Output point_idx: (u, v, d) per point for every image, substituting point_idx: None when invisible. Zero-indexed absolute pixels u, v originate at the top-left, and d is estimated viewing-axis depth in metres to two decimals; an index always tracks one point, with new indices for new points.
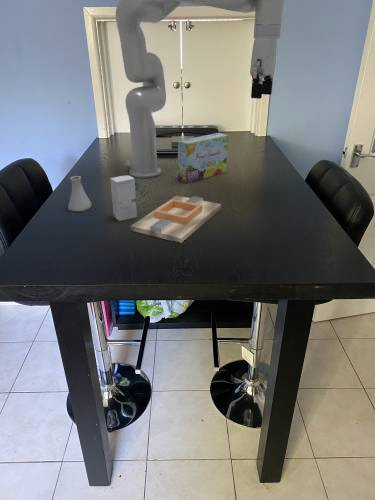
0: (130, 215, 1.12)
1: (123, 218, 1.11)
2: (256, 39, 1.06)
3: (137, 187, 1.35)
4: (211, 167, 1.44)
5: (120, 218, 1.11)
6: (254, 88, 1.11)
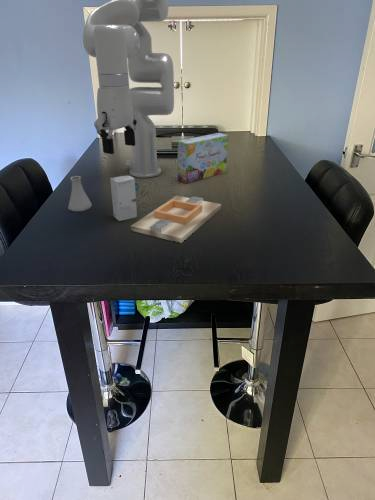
0: (130, 215, 1.12)
1: (123, 218, 1.11)
2: (98, 90, 0.94)
3: (137, 187, 1.35)
4: (211, 167, 1.44)
5: (120, 218, 1.11)
6: (103, 143, 0.98)
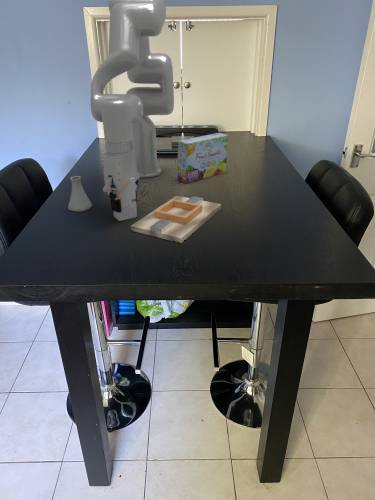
0: (130, 215, 1.12)
1: (123, 218, 1.11)
2: (105, 156, 1.02)
3: (137, 187, 1.35)
4: (211, 167, 1.44)
5: (120, 218, 1.11)
6: (112, 203, 1.07)
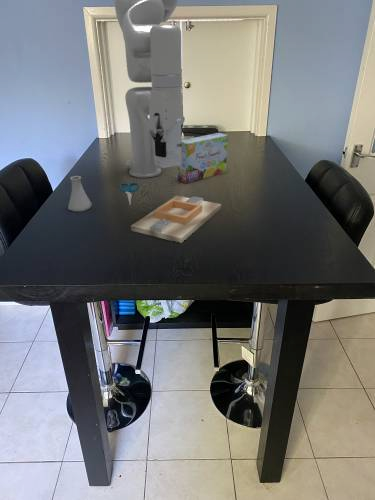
0: (174, 162, 1.03)
1: (167, 165, 1.02)
2: (152, 91, 0.93)
3: (137, 187, 1.35)
4: (211, 167, 1.44)
5: (164, 164, 1.01)
6: (157, 146, 0.98)
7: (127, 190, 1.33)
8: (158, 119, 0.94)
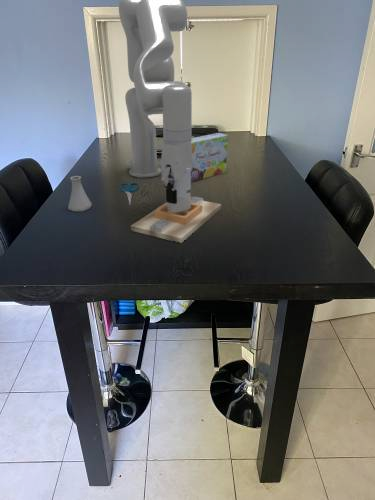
0: (184, 207, 1.09)
1: (178, 209, 1.08)
2: (164, 145, 0.99)
3: (137, 187, 1.35)
4: (211, 167, 1.44)
5: (175, 209, 1.08)
6: (168, 194, 1.04)
7: (127, 190, 1.33)
8: (170, 170, 1.00)
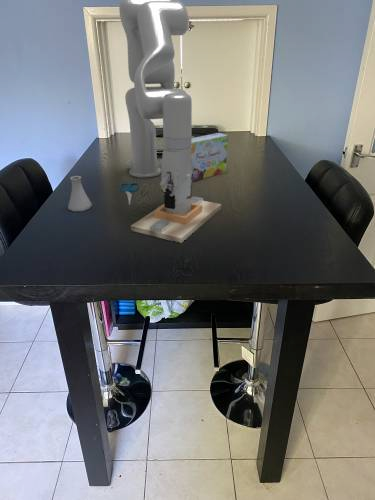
0: (184, 213, 1.10)
1: None
2: (164, 152, 1.00)
3: (137, 187, 1.35)
4: (211, 167, 1.44)
5: None
6: (166, 199, 1.04)
7: (127, 190, 1.33)
8: (170, 177, 1.01)
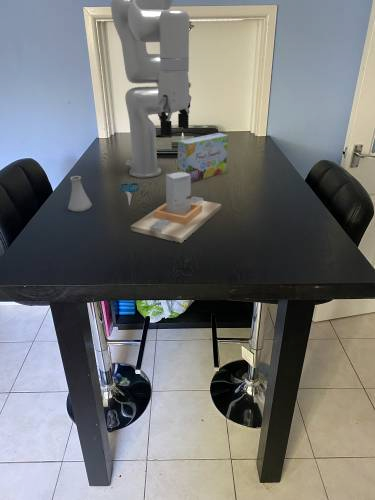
0: (184, 213, 1.10)
1: None
2: (161, 74, 0.98)
3: (137, 187, 1.35)
4: (211, 167, 1.44)
5: None
6: (162, 125, 1.03)
7: (127, 190, 1.33)
8: (166, 101, 1.00)
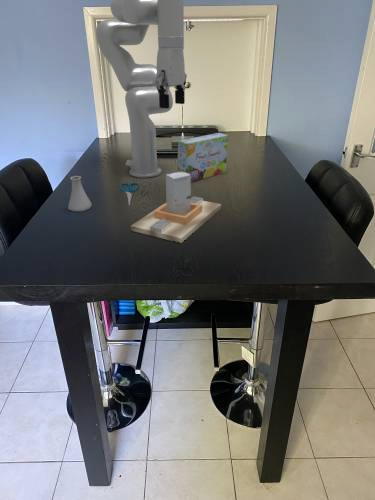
0: (184, 213, 1.10)
1: None
2: (159, 51, 1.09)
3: (137, 187, 1.35)
4: (211, 167, 1.44)
5: None
6: (161, 98, 1.14)
7: (127, 190, 1.33)
8: (164, 75, 1.10)
